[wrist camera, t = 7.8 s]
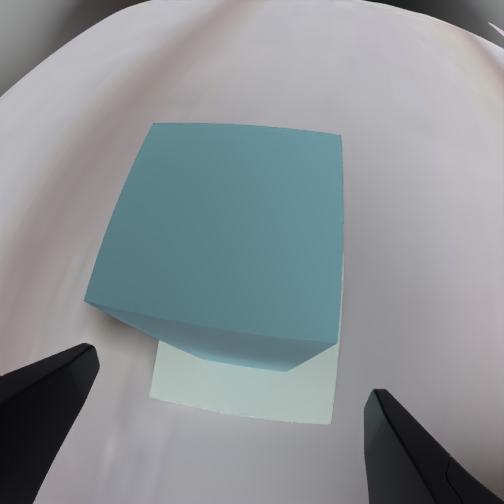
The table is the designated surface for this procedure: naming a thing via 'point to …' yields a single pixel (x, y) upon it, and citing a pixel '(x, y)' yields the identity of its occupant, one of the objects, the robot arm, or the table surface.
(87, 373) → the robot arm
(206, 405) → the base tile
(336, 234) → the teal pillar
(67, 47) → the table surface
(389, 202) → the table surface
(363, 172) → the table surface
